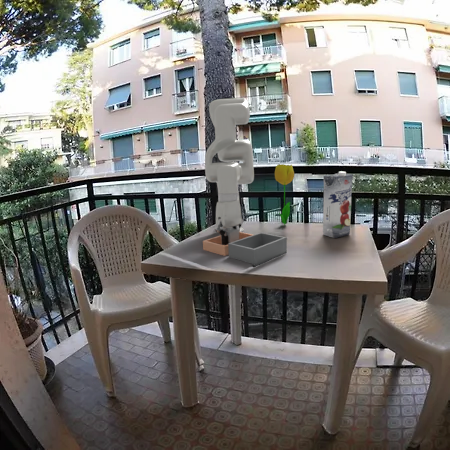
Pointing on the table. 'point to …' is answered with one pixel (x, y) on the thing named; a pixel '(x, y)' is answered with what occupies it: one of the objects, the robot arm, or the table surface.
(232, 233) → the block
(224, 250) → the trough
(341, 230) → the juice carton
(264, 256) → the bin
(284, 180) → the flower
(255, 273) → the table surface
